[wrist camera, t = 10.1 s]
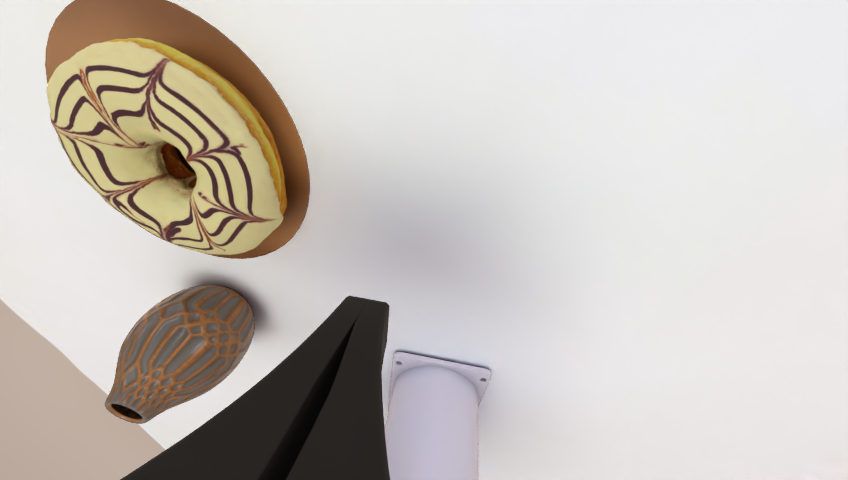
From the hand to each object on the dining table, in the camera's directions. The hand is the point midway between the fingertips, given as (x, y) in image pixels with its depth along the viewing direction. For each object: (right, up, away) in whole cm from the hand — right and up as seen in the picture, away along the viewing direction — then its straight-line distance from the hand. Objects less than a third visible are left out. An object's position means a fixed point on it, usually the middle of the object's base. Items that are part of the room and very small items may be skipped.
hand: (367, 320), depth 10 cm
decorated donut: (-10, +8, +8) cm, 15 cm away
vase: (-14, -2, +15) cm, 21 cm away
